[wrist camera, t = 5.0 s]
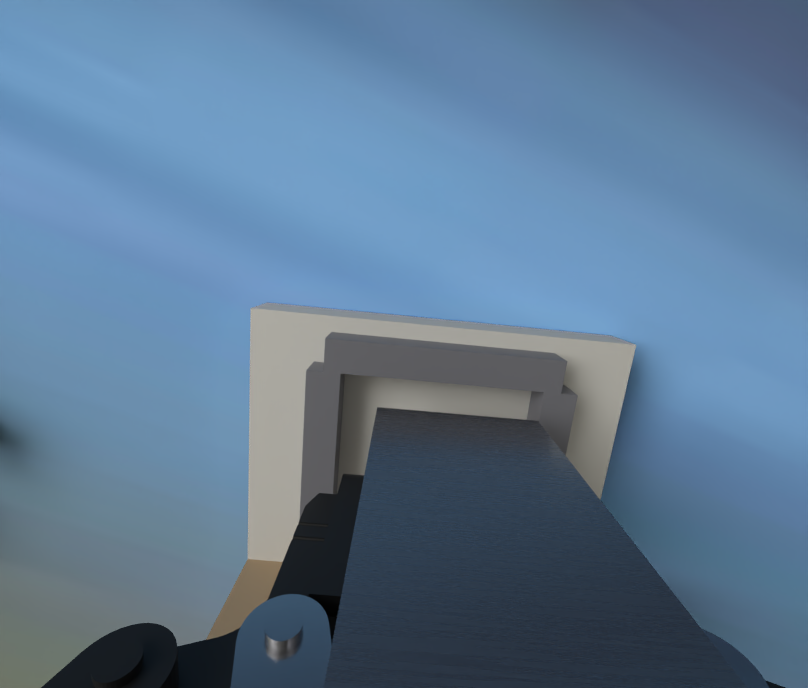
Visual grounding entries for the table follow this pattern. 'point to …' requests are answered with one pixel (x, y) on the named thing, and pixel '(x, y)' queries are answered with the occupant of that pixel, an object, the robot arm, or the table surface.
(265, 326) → the board
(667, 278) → the table surface
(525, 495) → the block
